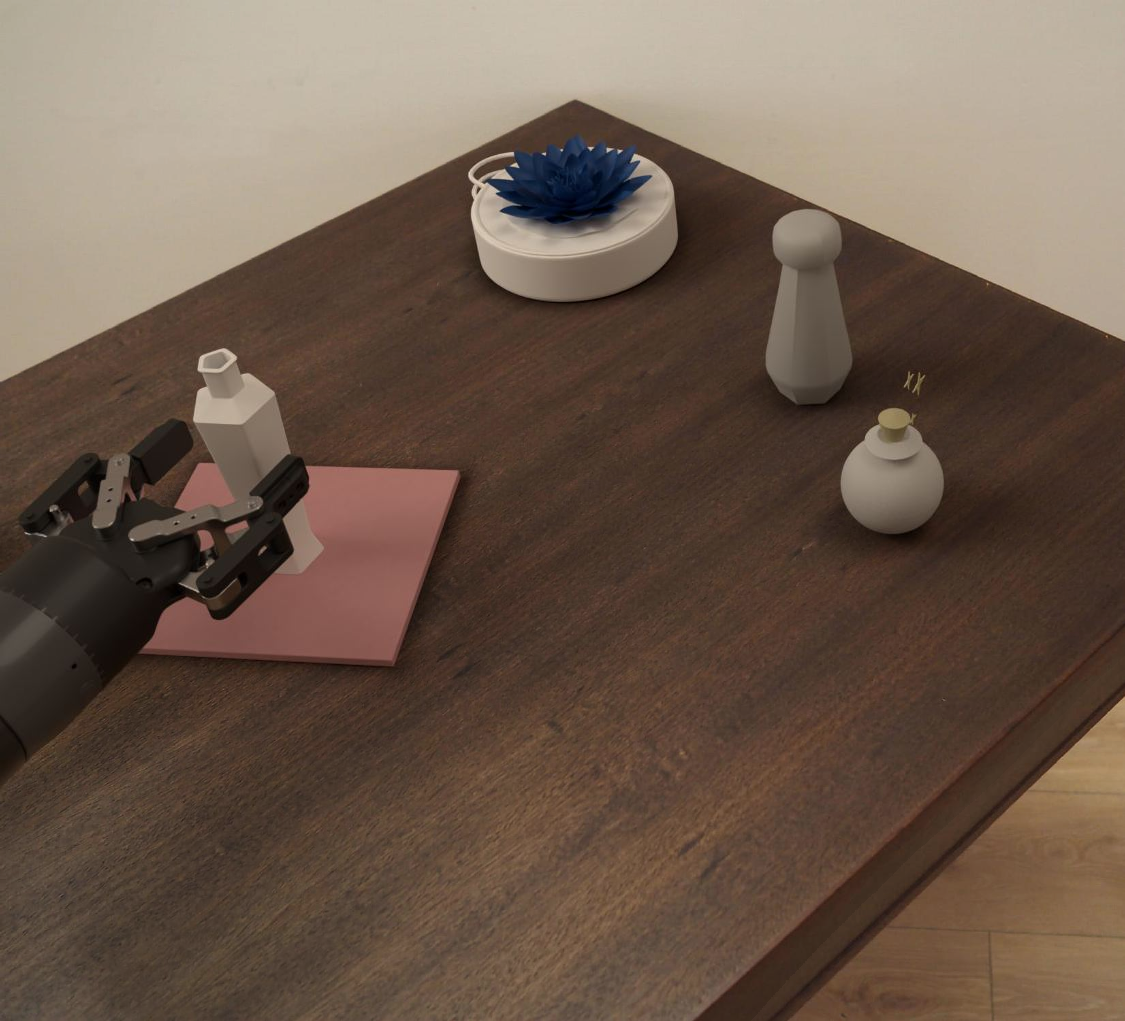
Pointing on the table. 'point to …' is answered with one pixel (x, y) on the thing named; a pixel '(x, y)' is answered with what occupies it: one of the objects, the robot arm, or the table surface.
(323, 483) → the cosmetics mat
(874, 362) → the table surface
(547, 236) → the box with blue lotus
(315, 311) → the table surface
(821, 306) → the salt shaker
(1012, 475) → the table surface
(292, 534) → the perfume bottle
